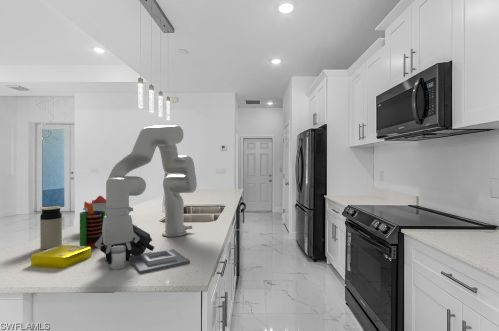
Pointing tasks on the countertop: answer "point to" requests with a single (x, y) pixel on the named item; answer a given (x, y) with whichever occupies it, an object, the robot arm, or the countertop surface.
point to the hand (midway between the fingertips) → (118, 261)
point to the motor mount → (157, 260)
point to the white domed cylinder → (118, 257)
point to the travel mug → (50, 227)
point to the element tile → (60, 256)
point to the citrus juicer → (98, 204)
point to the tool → (138, 242)
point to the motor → (91, 226)
